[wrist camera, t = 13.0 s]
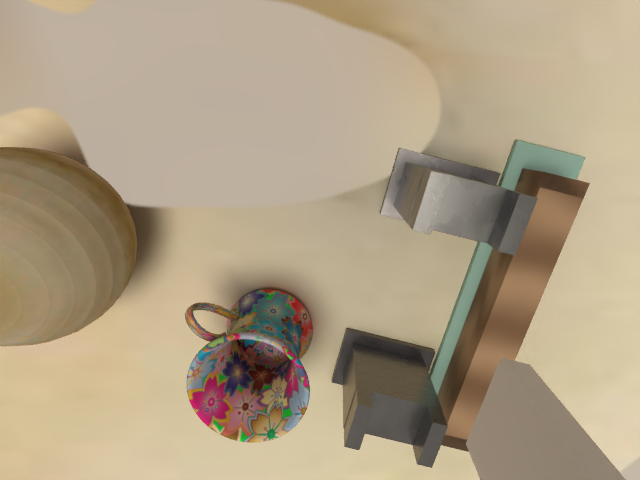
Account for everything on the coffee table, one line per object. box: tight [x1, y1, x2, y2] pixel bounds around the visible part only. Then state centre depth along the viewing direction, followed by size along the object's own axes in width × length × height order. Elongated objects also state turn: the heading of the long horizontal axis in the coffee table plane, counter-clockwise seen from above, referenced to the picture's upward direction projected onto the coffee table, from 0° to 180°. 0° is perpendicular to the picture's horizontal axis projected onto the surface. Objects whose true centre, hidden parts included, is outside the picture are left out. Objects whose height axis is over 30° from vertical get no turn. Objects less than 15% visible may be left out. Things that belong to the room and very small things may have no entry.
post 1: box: [332, 328, 448, 468], centre depth 35 cm, size 6×9×10 cm, turn 76°
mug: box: [185, 289, 313, 442], centre depth 34 cm, size 12×9×11 cm
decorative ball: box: [0, 147, 137, 346], centre depth 31 cm, size 15×15×15 cm
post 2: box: [380, 148, 538, 256], centre depth 31 cm, size 6×9×10 cm, turn 76°
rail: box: [437, 168, 590, 452], centre depth 35 cm, size 26×4×4 cm, turn 166°
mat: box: [430, 140, 585, 395], centre depth 38 cm, size 30×6×1 cm, turn 166°
